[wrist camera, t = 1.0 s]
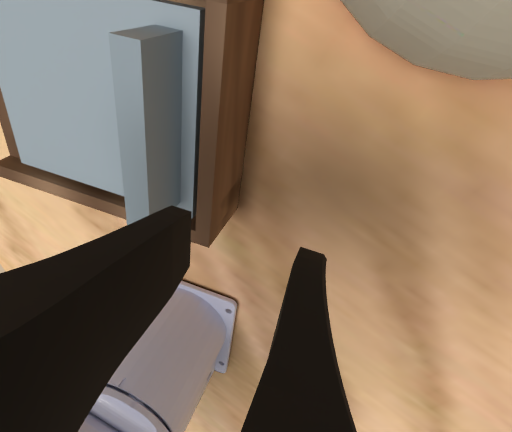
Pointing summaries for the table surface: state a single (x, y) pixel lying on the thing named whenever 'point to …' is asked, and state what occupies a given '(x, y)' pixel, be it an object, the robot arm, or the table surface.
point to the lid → (108, 94)
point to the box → (211, 124)
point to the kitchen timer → (443, 33)
